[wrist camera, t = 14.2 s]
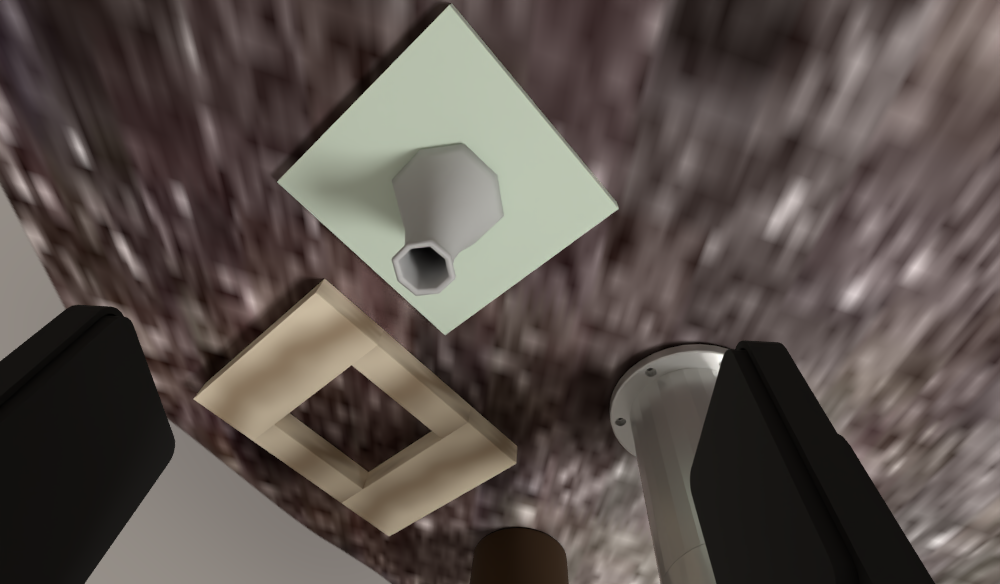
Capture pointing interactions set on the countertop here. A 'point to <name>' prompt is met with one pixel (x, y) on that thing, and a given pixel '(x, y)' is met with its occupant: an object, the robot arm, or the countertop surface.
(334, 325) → the tan flat rectangular frame
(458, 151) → the flask
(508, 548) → the olive oil
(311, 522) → the countertop surface
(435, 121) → the sage tile
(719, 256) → the countertop surface
